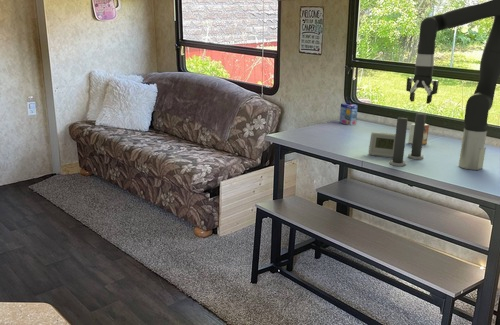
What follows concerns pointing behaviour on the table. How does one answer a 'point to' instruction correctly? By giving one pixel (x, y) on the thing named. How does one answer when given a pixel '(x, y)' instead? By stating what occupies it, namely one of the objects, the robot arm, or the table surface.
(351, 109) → the ink cartridge box
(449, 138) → the table surface
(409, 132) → the small box
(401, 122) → the post left
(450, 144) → the table surface
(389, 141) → the digital clock
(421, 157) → the post right
